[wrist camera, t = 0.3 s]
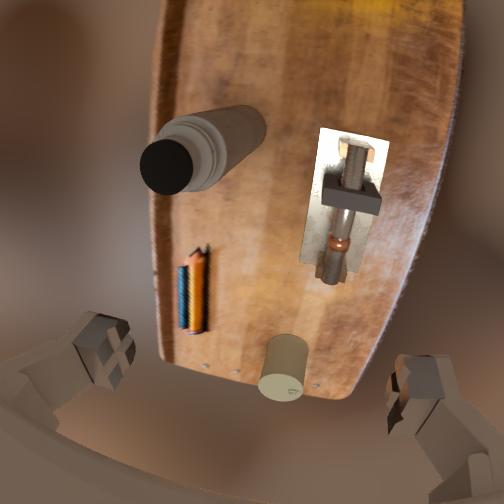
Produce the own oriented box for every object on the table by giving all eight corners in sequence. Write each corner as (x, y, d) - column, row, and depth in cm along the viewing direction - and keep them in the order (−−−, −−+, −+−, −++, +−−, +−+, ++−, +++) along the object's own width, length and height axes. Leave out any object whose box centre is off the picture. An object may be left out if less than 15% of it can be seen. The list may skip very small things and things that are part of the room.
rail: (321, 127, 47) (320, 133, 40) (388, 141, 46) (399, 149, 38) (299, 259, 59) (295, 284, 52) (357, 270, 57) (360, 296, 50)
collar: (324, 173, 48) (324, 187, 41) (373, 183, 47) (382, 199, 40) (321, 187, 49) (321, 204, 42) (370, 197, 48) (378, 215, 41)
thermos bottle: (214, 110, 49) (114, 134, 25) (261, 101, 47) (194, 111, 23) (223, 155, 53) (137, 217, 28) (270, 148, 50) (216, 206, 26)
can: (302, 366, 72) (296, 407, 61) (264, 357, 73) (253, 397, 62) (313, 339, 67) (309, 381, 57) (272, 329, 68) (261, 370, 58)
